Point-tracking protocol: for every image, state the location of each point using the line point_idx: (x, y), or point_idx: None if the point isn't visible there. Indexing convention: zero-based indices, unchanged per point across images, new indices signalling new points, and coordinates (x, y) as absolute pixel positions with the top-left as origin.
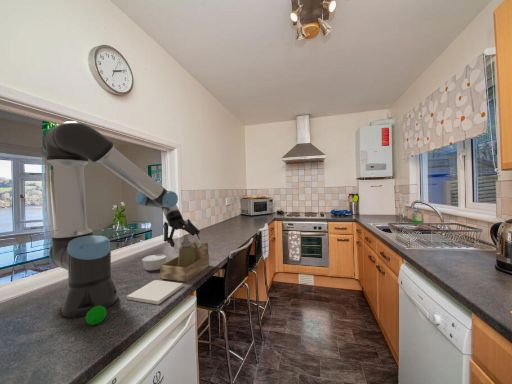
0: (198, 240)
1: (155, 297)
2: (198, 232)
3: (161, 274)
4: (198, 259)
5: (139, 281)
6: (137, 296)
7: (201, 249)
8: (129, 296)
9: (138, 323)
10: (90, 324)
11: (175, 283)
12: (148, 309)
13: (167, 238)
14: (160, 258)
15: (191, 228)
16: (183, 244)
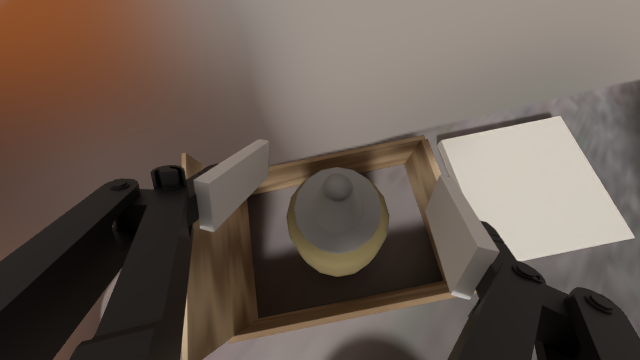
0: (247, 153)
1: (557, 139)
2: (138, 185)
3: None
4: (241, 243)
5: None
6: (601, 198)
7: None
8: (626, 224)
9: (623, 93)
10: None
11: (457, 162)
12: (582, 123)
13: (577, 288)
14: None
15: (71, 306)
16: (376, 198)
